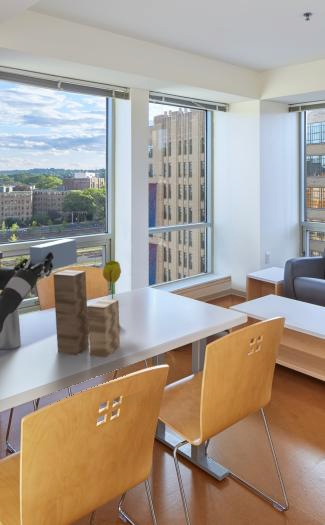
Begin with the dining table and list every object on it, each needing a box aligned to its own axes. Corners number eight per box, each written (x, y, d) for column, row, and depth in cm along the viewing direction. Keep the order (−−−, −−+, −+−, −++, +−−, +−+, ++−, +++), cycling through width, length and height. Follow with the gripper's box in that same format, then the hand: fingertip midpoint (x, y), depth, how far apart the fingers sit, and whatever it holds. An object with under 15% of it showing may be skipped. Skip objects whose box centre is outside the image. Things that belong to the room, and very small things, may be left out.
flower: (107, 320, 230) (105, 260, 225) (123, 320, 229) (121, 260, 224) (103, 326, 221) (101, 263, 216) (120, 326, 221) (118, 263, 215)
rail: (42, 273, 163) (41, 247, 161) (31, 272, 165) (29, 246, 163) (77, 262, 183) (76, 239, 181) (66, 261, 185) (65, 239, 183)
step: (106, 357, 182) (104, 307, 179) (90, 355, 185) (88, 306, 181) (119, 347, 193) (118, 299, 190) (104, 345, 196) (102, 298, 192)
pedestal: (77, 355, 185) (73, 275, 180) (57, 352, 189) (53, 274, 183) (88, 347, 194) (85, 271, 188) (70, 344, 197) (66, 269, 191)
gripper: (7, 292, 161) (32, 260, 173) (42, 295, 155) (65, 263, 167) (-2, 276, 156) (24, 244, 168) (33, 279, 151) (58, 246, 163)
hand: (45, 254), depth 168 cm, fingers closed on rail, 5 cm apart
